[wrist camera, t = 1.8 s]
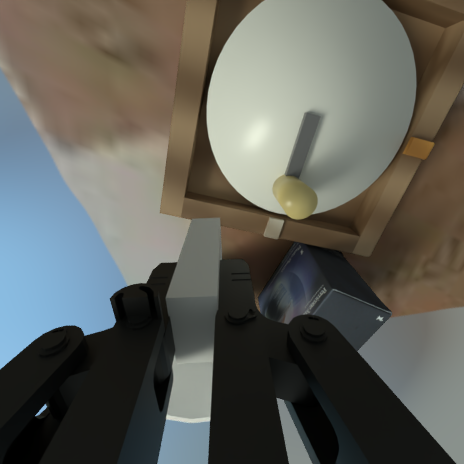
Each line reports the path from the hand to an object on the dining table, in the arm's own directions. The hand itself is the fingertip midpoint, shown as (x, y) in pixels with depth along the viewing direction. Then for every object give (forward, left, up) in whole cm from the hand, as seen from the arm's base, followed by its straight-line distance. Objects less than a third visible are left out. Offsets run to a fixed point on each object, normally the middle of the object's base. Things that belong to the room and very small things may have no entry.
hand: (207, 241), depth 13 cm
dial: (-8, +6, -12) cm, 16 cm away
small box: (+9, +12, -14) cm, 20 cm away
